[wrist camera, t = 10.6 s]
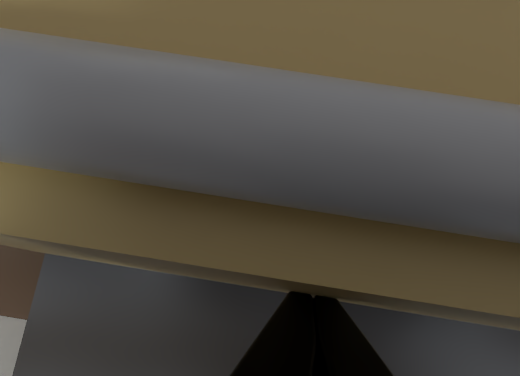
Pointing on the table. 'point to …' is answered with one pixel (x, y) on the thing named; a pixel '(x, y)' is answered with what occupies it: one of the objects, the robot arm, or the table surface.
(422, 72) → the yellow box
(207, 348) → the dock
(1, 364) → the table surface
